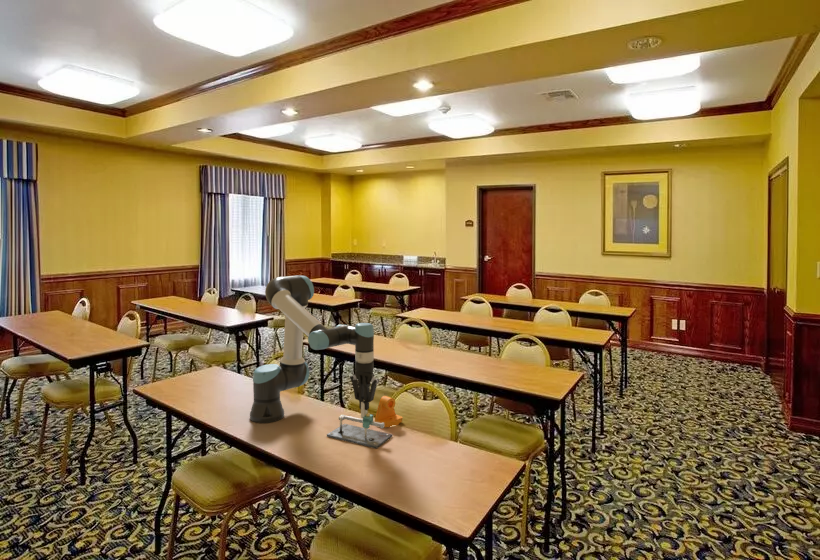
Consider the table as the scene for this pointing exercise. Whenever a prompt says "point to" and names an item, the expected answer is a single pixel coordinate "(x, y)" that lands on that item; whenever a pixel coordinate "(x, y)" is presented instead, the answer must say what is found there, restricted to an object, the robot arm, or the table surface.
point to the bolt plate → (360, 436)
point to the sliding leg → (367, 422)
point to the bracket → (387, 412)
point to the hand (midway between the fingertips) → (364, 416)
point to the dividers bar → (358, 421)
